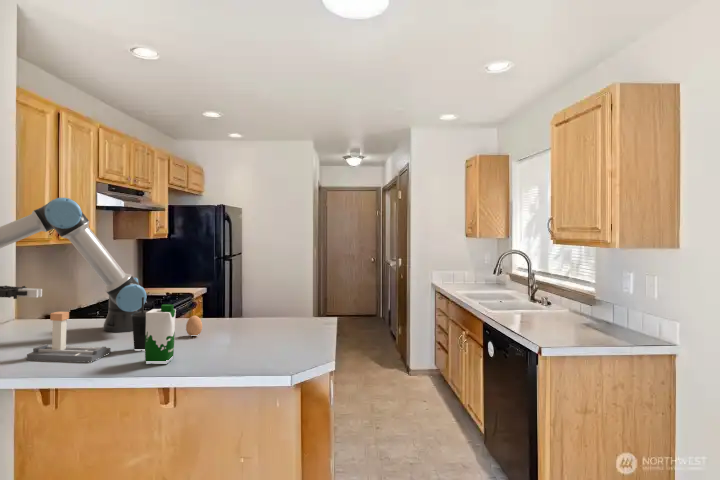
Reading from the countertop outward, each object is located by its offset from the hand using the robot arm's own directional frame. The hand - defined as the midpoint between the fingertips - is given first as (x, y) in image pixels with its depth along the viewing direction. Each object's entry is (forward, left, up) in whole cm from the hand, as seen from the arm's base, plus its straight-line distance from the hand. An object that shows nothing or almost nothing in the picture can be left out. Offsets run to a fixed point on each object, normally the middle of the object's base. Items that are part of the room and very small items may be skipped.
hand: (39, 293), depth 165 cm
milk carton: (-37, +24, -22) cm, 49 cm away
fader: (-6, +4, -20) cm, 21 cm away
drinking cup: (-33, +5, -22) cm, 40 cm away
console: (-10, +6, -22) cm, 25 cm away
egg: (-55, -10, -22) cm, 60 cm away
